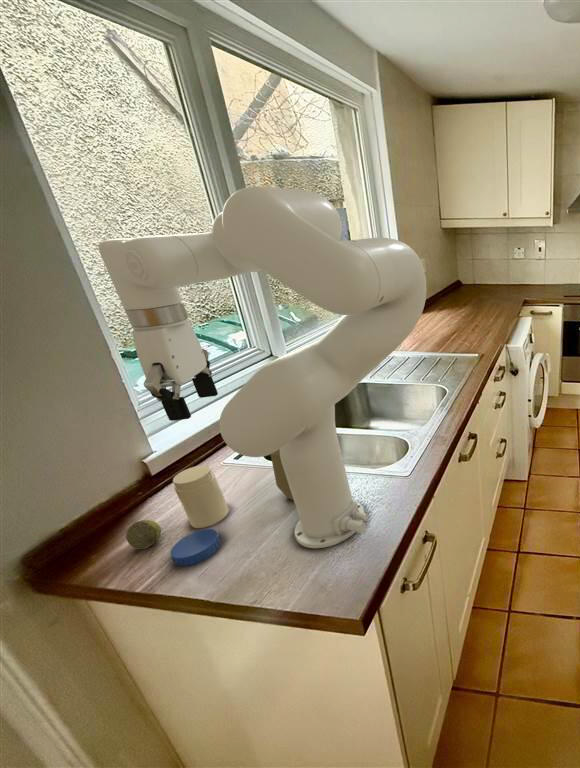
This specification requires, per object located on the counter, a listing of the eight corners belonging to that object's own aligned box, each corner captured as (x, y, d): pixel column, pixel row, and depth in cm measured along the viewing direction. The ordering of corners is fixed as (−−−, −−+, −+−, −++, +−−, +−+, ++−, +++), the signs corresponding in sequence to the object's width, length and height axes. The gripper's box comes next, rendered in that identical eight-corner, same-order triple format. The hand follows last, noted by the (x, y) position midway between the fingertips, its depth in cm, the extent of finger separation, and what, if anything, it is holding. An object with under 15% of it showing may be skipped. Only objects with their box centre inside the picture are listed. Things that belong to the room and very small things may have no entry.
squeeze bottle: (305, 505, 82) (282, 431, 75) (272, 501, 84) (246, 428, 76) (329, 482, 89) (310, 412, 82) (298, 478, 91) (277, 410, 84)
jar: (236, 509, 82) (219, 467, 78) (205, 531, 76) (185, 487, 72) (214, 503, 84) (197, 462, 80) (183, 524, 78) (162, 481, 74)
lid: (165, 560, 70) (160, 552, 69) (204, 532, 76) (201, 525, 75) (191, 570, 68) (187, 562, 67) (229, 541, 74) (226, 533, 73)
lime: (166, 542, 74) (155, 521, 72) (132, 557, 71) (120, 536, 69) (163, 530, 77) (153, 510, 75) (131, 544, 74) (119, 523, 72)
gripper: (164, 307, 73) (197, 391, 80) (93, 331, 57) (142, 432, 64) (209, 304, 74) (238, 386, 81) (151, 326, 58) (193, 426, 65)
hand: (195, 407), depth 72 cm, fingers open, 9 cm apart
